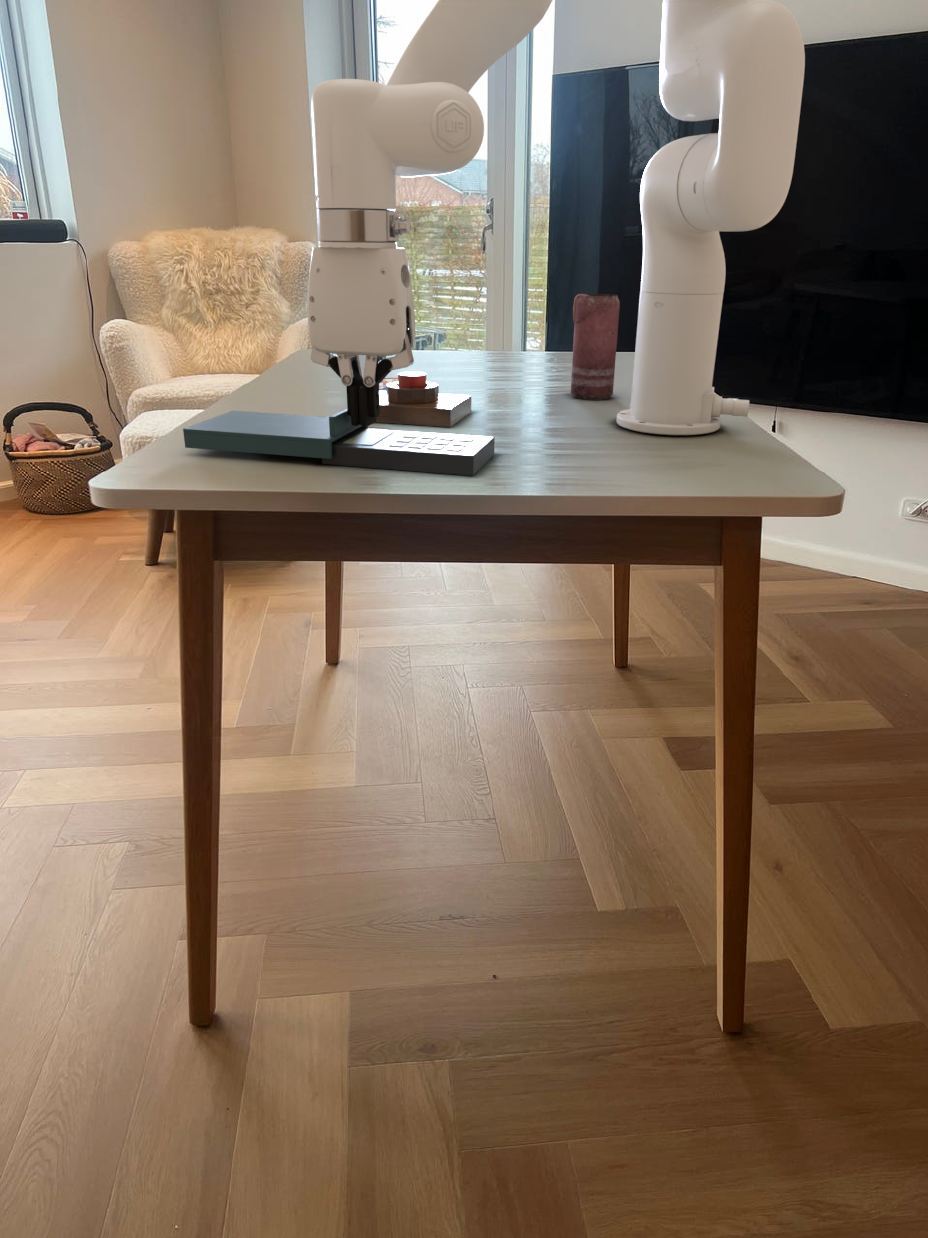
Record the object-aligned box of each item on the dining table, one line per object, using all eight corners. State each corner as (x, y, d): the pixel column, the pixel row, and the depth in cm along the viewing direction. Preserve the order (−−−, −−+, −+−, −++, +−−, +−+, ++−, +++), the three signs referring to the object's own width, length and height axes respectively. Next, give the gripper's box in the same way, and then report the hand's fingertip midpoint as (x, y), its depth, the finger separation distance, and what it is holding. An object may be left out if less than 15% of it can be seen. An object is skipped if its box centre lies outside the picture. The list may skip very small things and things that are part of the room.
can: (565, 393, 129) (570, 292, 124) (607, 392, 130) (614, 292, 124) (573, 400, 124) (579, 295, 118) (616, 399, 124) (625, 295, 119)
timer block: (471, 412, 115) (471, 381, 114) (450, 427, 106) (450, 393, 105) (378, 406, 118) (377, 376, 117) (351, 420, 109) (349, 388, 108)
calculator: (494, 455, 93) (494, 435, 92) (473, 476, 85) (473, 455, 85) (354, 445, 97) (354, 426, 96) (322, 464, 89) (320, 443, 88)
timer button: (430, 386, 112) (429, 372, 111) (421, 390, 109) (421, 376, 108) (403, 384, 113) (403, 370, 112) (394, 389, 110) (393, 375, 109)
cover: (368, 437, 97) (367, 400, 95) (331, 459, 88) (329, 419, 86) (234, 427, 101) (230, 392, 99) (185, 447, 92) (180, 409, 90)
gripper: (443, 232, 85) (442, 421, 92) (302, 230, 88) (312, 412, 96) (419, 232, 78) (421, 435, 86) (268, 230, 82) (282, 426, 89)
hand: (364, 423), depth 91 cm, fingers closed
